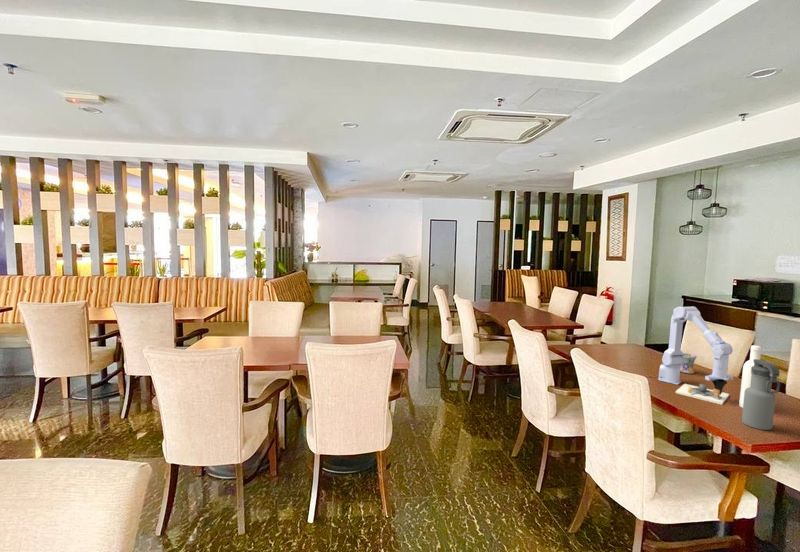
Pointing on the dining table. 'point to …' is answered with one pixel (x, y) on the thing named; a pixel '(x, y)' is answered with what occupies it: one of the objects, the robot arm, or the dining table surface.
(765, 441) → the dining table surface
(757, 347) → the bottle
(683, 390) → the base board
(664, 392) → the dining table surface
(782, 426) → the dining table surface
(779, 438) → the dining table surface
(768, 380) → the water bottle
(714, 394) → the grey metal bracket
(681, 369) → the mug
